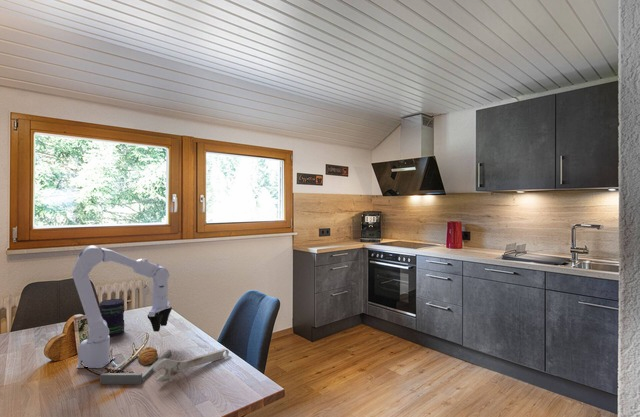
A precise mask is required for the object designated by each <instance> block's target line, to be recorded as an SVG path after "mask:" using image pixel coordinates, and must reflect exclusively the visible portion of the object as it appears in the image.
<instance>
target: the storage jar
mask: <svg viewBox="0 0 640 417" xmlns="http://www.w3.org/2000/svg"><path fill="white" fill-rule="evenodd" d="M99 310H100V313H101V316H102V318H103V319H104V320H105V321H106V322H107V327H108V328H109V336H110V339H111V338H115V337H118V336H121V335H123V334H125V319H124V314H125V313H124V312H125V299H124V298H110V299H105V300H103V301H100V302H99Z"/></svg>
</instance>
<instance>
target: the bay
mask: <svg viewBox="0 0 640 417" xmlns="http://www.w3.org/2000/svg"><path fill="white" fill-rule="evenodd" d="M171 355H172V350H171V349H169V350H168V349H167V350H166V352H164V353H163V354H162V355H161V356H160V357H159V358H157V359H156V360H155V362H154V363H152V365H150V367H148V368H147V369H146V370H145V371H143V373H142V372H139V373H138V372H128V373H127V372H118V373H110V371H109V372H102V373H101V374H100V375H99V376H100V377H99V384H100V385H141V384H142V383H143V382H144V381H145V380H146V379H147V378H148V377H149V376H151V374H152V373H153V372H154V371H153V367H154V365H155V364H156V363H157V362H158V361H159V360H161V359H164V358H167V359H168V358H169V357H170V356H171ZM131 356H132V354H131V355H129V356H128V357H127V358H125V359H124V360H123V361H122V362H120V363H119V364H118V365H116V366H115V367H114V368H116V369H118V368H120V366H121V365H122V364H124V363H125V362H126V361H127V360H128V359H129V358H130V357H131Z"/></svg>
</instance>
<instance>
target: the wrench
mask: <svg viewBox="0 0 640 417" xmlns="http://www.w3.org/2000/svg"><path fill="white" fill-rule="evenodd" d="M229 353H230V352H229V349H226V348H222V349H219V350H216V351H211V352H208V353H205V354H202V355H198V356H195V357H191V358H188V359H184V360H174V359H169V358H168V357H167V358H164V359H161V360H159V361H158V362H157V363H156V364H155V365H154V367H153V372H155V373H156V372H157V371H158V370H160V369H161V368H164V371H163V373H162V374H160V375H158V376H157V377H156V378H155V381H156V382H158V383H159V382H160V383H164V382H167V381H168V382H170V383H171V382H173V381H174V379H175V378H176V376H178V375H179V374H180V373H182V372H183V371H185V370H188V369H190V368H195V367H198V366H201V365H204V364H208V363H212V362H215V361H218V360H222V359H224V358H227V357H228V356H229Z"/></svg>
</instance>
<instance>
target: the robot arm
mask: <svg viewBox="0 0 640 417" xmlns="http://www.w3.org/2000/svg"><path fill="white" fill-rule="evenodd" d="M101 262H103V263H107V262H114V263H117V264H120V265H123V266H126V267H129V268H132V270H133V273H135V274H138V275H141V276H143V277H147V278H148V279H149V278H152V295H151V296H152V298H151V299H152V305H151V306H152V307H151V308H150V310H149V311H148V314H147V318H148V320H149V322H150V324H151V326H152V330H153V332H160V330H161V327H166V326H167V324H168V320H169V318H170V315H171V312H172V310H173V307H171V301H170V300H169V299H168V298H169V296H168V295H169V292H168V291H169V289H168V288H169V287H168V279H169V278H170V272H169V270H168V269H167V268H165V267H164V266H163V265H160V264H159V263H153V262H151V261H149V259H147V258H139V259H134V258H132V257H128V256H126V255H124V254H122V253H119V252H117V251H115V250H112V249H109V248H105V247H99V246H98V245H94V244H92V245H88V246H85V247H84V248H83V249H82V250H81V251H80V252H79V253H78V256H77V259H76V261H75V263H74V266H73V268H72V270H71V276H72V279H73V281H74V285H75V288H76V291H77V294H78V296H79V301H80V303H81V306H82V308H83V311H84V314H85V317H86V320H87V331H88V338H86V339H84V340H82V341H81V342H80V344H79V346H78V349H77V350H78V352H77V353H78V354H77V356H78V358H77V362H78V365H76V368H78V369H81V368H82V369H85V368H84V367H82V366H81V364H80V363H83V364H84V365H85V366H87V367H88V368H87V369H92V368H93V369H102V368H104V367H106V366H107V365H108V364H109V363H111V362H110V359H109V353H110V352H111V347H110V346H111V345H110V344H111V343H110V342H111V338H110V336H109V328H108V327H107V322H106V321H105V320H104V319H103V318H102V316H101V313H100V310H99V309H100V306H99V305H98V302H97V298H96V295H95V292H94V290H93V286H92V283H91V279H90V278H89V274H90V272H92V269H94V267H96V266H97V265H99V264H100V263H101ZM110 354H111V353H110ZM112 357H113V360H115V359H116V357H115V356H112Z"/></svg>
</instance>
